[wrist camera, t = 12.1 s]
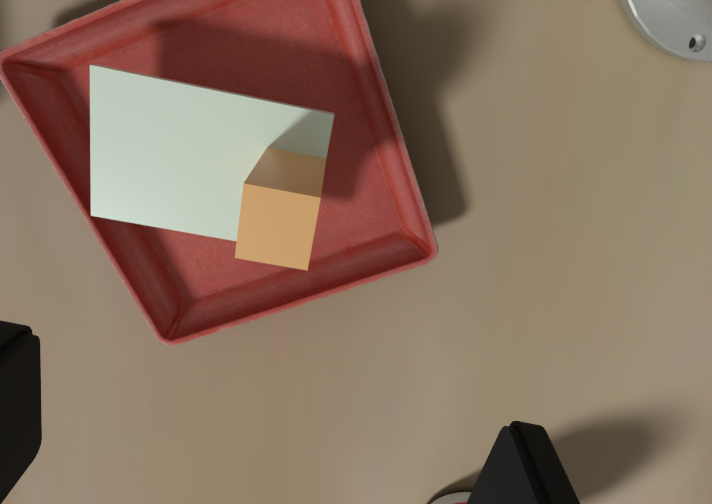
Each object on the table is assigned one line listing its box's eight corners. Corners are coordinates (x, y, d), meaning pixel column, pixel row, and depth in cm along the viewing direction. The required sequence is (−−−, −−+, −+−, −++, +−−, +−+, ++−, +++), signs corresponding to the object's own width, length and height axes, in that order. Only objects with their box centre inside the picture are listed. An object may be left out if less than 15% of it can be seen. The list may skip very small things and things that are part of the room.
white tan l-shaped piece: (99, 63, 24) (3, 76, 18) (334, 111, 26) (331, 142, 19) (99, 209, 27) (17, 269, 21) (309, 246, 29) (299, 315, 22)
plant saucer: (21, 53, 27) (-19, 56, 24) (333, -78, 25) (332, -93, 22) (179, 322, 34) (163, 350, 31) (434, 238, 32) (443, 259, 29)
